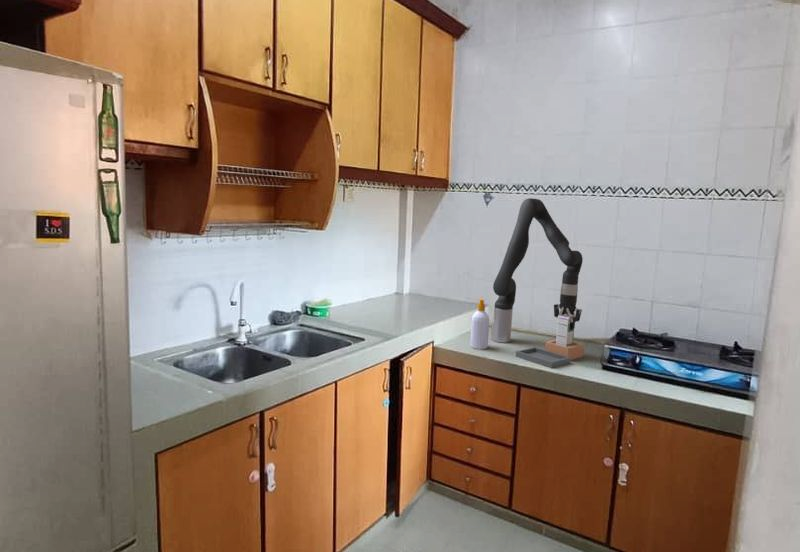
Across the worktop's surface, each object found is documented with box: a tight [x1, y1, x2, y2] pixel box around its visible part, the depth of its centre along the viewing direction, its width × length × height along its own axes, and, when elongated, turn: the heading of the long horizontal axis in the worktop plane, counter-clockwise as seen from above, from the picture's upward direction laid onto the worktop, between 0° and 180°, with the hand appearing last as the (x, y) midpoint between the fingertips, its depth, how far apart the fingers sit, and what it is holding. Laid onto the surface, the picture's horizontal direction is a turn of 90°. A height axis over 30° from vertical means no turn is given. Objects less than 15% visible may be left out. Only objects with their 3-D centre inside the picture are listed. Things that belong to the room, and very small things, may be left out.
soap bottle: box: [469, 297, 490, 350], centre depth 257 cm, size 9×9×24 cm
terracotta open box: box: [544, 339, 585, 361], centre depth 248 cm, size 12×12×6 cm
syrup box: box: [555, 314, 575, 347], centre depth 247 cm, size 6×6×14 cm
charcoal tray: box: [515, 346, 572, 369], centre depth 240 cm, size 20×14×3 cm
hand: (565, 328), depth 247 cm, fingers closed on syrup box, 6 cm apart
